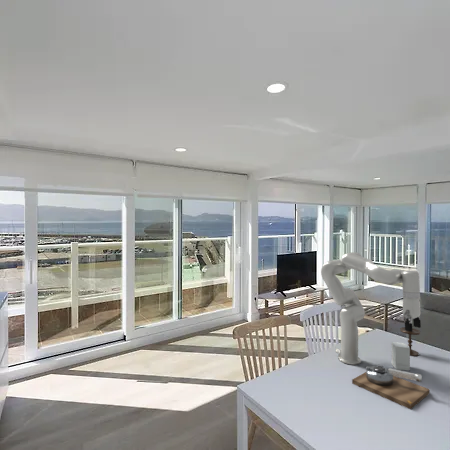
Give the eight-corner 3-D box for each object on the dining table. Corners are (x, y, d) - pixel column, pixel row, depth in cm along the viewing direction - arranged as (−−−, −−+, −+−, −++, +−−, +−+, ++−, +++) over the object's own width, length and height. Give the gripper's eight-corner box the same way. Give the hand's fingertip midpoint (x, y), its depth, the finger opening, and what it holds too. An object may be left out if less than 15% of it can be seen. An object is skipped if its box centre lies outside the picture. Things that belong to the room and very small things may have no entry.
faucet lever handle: (365, 381, 151) (365, 368, 151) (367, 371, 161) (367, 359, 161) (422, 395, 139) (422, 381, 139) (421, 383, 149) (421, 370, 149)
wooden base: (352, 383, 153) (352, 379, 153) (373, 371, 166) (373, 367, 166) (410, 409, 132) (410, 404, 132) (429, 393, 144) (429, 388, 144)
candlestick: (424, 357, 185) (424, 299, 185) (406, 356, 185) (406, 299, 185) (413, 349, 196) (413, 295, 196) (396, 349, 196) (396, 295, 196)
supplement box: (410, 371, 167) (410, 347, 167) (395, 369, 168) (395, 346, 168) (405, 364, 174) (405, 342, 174) (391, 363, 176) (391, 341, 176)
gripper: (410, 291, 163) (412, 324, 163) (395, 296, 153) (397, 330, 152) (426, 293, 157) (428, 327, 157) (412, 298, 147) (413, 334, 146)
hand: (413, 329), depth 154 cm, fingers open, 9 cm apart
